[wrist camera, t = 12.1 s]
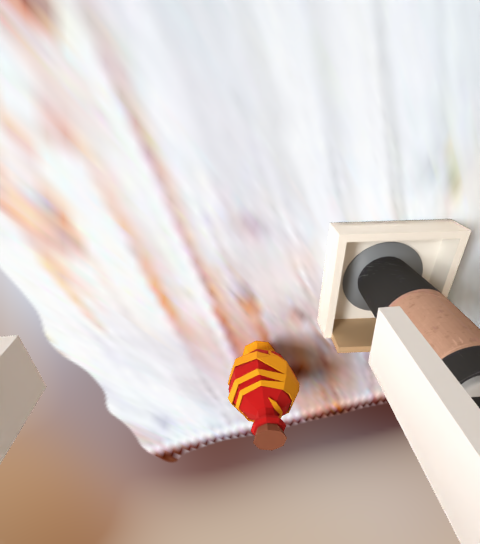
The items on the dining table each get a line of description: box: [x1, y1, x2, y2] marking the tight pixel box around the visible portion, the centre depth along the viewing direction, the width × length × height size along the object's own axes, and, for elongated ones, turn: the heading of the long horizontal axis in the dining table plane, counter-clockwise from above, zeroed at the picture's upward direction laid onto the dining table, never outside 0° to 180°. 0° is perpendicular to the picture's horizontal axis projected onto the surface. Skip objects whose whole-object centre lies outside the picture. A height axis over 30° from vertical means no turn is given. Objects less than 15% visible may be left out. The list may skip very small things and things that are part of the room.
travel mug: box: [358, 256, 480, 397], centre depth 36 cm, size 8×8×20 cm
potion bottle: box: [228, 341, 299, 450], centre depth 45 cm, size 10×10×15 cm
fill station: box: [317, 219, 471, 353], centre depth 42 cm, size 16×16×7 cm
